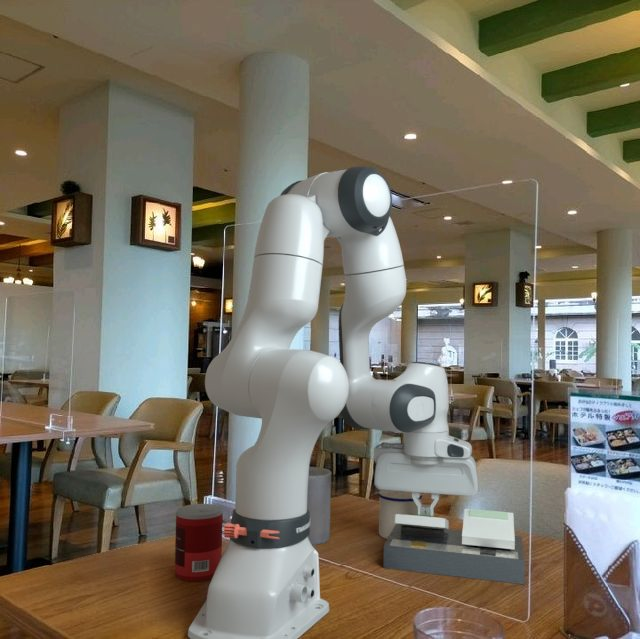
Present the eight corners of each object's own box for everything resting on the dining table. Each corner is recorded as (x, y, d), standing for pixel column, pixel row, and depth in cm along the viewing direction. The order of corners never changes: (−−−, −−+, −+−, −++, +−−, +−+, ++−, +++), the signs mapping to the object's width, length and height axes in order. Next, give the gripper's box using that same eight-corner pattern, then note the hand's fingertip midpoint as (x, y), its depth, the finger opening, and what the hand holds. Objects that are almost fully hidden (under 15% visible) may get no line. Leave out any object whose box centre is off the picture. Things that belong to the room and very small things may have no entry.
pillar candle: (273, 536, 129) (275, 463, 129) (310, 527, 135) (311, 458, 135) (302, 549, 121) (304, 472, 122) (340, 539, 128) (341, 466, 128)
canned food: (230, 571, 109) (231, 507, 109) (199, 586, 102) (201, 518, 102) (196, 562, 113) (198, 501, 113) (164, 576, 106) (166, 510, 106)
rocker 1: (444, 527, 112) (445, 516, 113) (395, 523, 114) (395, 512, 115) (448, 529, 121) (448, 519, 122) (402, 524, 124) (402, 514, 124)
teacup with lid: (430, 539, 129) (430, 482, 129) (391, 544, 125) (392, 486, 125) (399, 523, 140) (400, 471, 140) (363, 527, 136) (364, 474, 136)
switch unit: (524, 584, 105) (524, 551, 105) (383, 567, 112) (384, 537, 112) (521, 557, 119) (521, 528, 119) (395, 544, 125) (395, 516, 125)
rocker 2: (514, 549, 109) (514, 539, 109) (461, 544, 111) (461, 534, 111) (513, 520, 118) (513, 511, 118) (464, 516, 121) (464, 507, 121)
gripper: (370, 444, 123) (370, 515, 122) (478, 450, 117) (478, 524, 117) (376, 439, 129) (376, 506, 128) (478, 444, 123) (479, 514, 123)
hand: (425, 515), depth 122 cm, fingers closed, pressing on rocker 1
